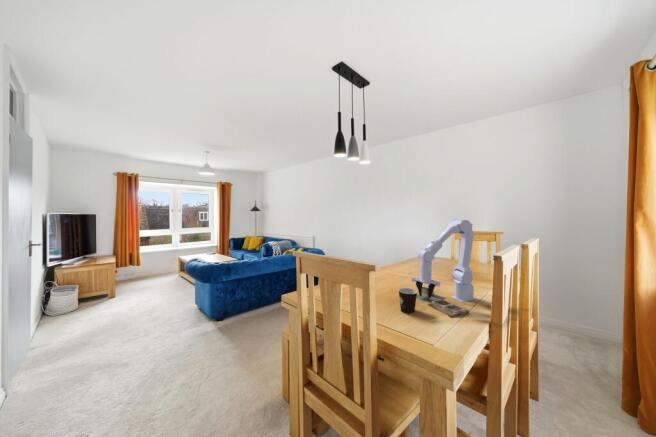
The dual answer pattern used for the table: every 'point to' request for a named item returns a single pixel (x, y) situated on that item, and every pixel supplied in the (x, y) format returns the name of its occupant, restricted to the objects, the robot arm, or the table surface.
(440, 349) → the table surface
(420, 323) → the table surface
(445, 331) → the table surface
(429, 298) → the mat
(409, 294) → the coffee mug
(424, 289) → the cream teal cylinder
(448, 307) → the brown compartment tray
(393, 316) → the table surface
